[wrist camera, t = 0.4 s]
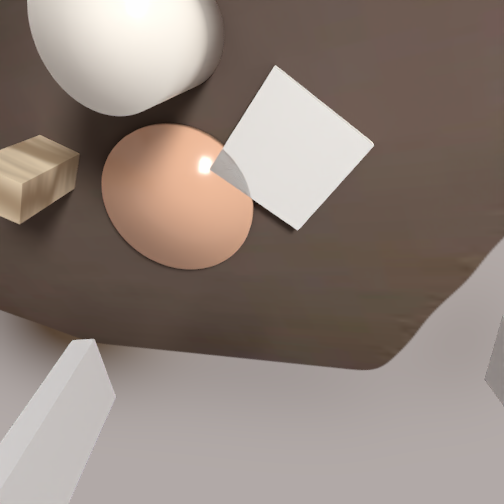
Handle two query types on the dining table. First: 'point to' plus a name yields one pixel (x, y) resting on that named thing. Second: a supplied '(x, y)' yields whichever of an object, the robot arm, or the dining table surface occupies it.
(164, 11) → the white pillar candle
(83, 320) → the dining table surface
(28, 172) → the beech block
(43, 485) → the robot arm
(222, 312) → the dining table surface
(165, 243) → the peach round disc
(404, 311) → the dining table surface
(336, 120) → the white square pad
